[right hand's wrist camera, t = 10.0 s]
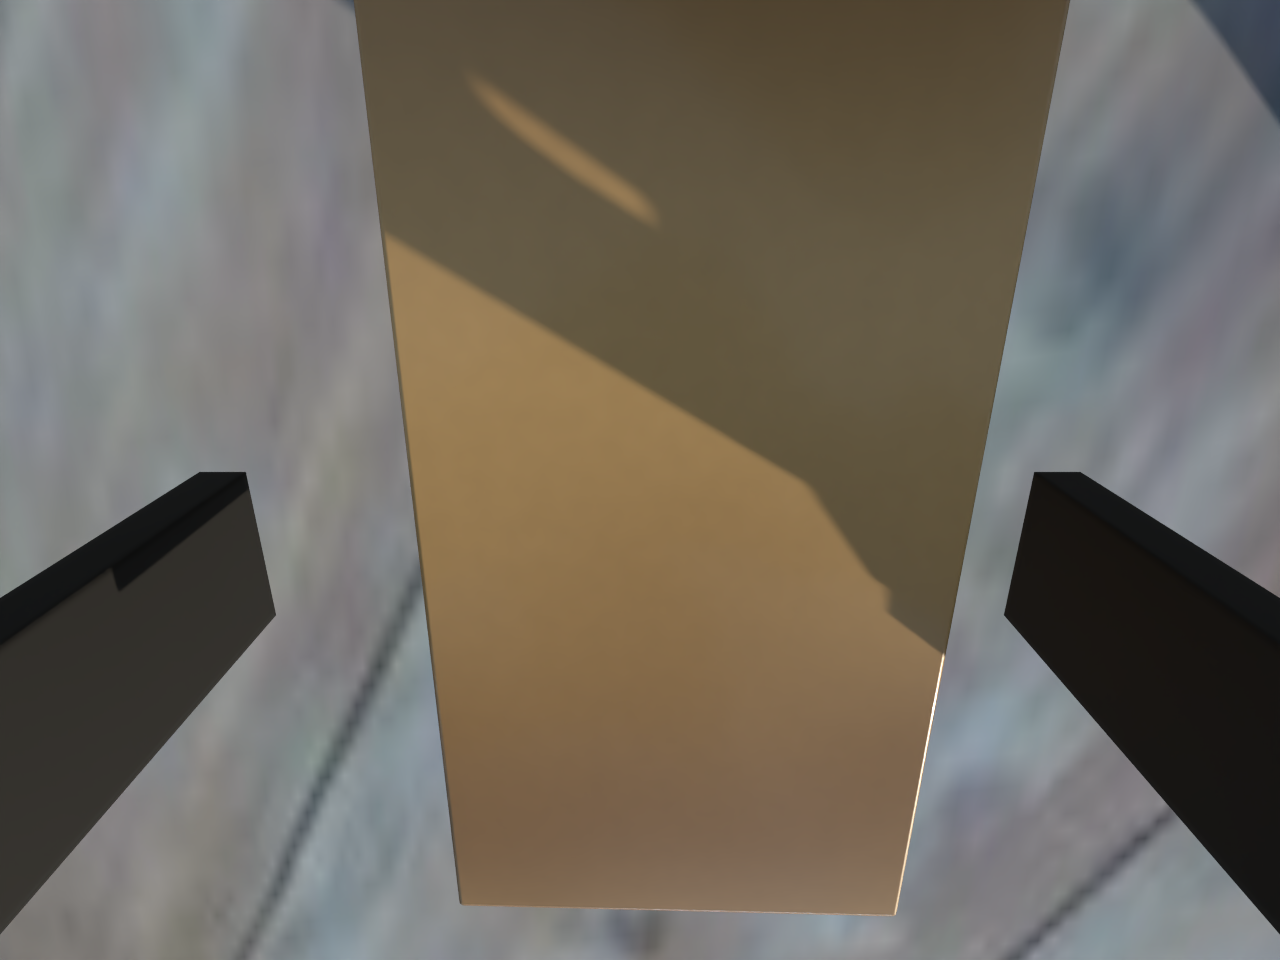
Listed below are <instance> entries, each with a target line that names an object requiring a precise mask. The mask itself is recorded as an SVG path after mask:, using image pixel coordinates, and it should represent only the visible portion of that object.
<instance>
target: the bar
mask: <svg viewBox="0 0 1280 960" xmlns="http://www.w3.org/2000/svg"><path fill="white" fill-rule="evenodd" d="M1069 3H1070V0H354V7H355V16H356V24H357V33H358V41H359V50H360V58H361V67H362V75H363V84H364V92H365V101H366V109H367V118H368V126H369V135H370V143H371V152H372V160H373V169H374V177H375V186H376V194H377V203H378V211H379V220H380V228H381V237H382V245H383V254H384V262H385V271H386V280H387V288H388V297H389V305H390V314H391V322H392V331H393V339H394V348H395V356H396V365H397V373H398V382H399V390H400V399H401V407H402V416H403V424H404V433H405V441H406V450H407V458H408V467H409V475H410V484H411V492H412V501H413V509H414V518H415V526H416V535H417V543H418V552H419V560H420V569H421V577H422V586H423V594H424V603H425V612H426V620H427V629H428V637H429V646H430V654H431V663H432V671H433V680H434V688H435V697H436V705H437V714H438V722H439V731H440V739H441V748H442V756H443V765H444V773H445V782H446V790H447V799H448V807H449V816H450V824H451V833H452V841H453V850H454V858H455V867H456V875H457V884H458V892H459V900H460V904H462V905H469V906H509V907H548V908H588V909H628V910H667V911H707V912H747V913H786V914H826V915H866V916H894V915H895V914H896V912H897V906H898V901H899V896H900V891H901V885H902V880H903V875H904V870H905V864H906V859H907V854H908V849H909V843H910V838H911V833H912V828H913V822H914V817H915V812H916V807H917V801H918V796H919V791H920V786H921V780H922V775H923V770H924V765H925V759H926V754H927V749H928V744H929V738H930V733H931V728H932V723H933V717H934V712H935V707H936V702H937V696H938V691H939V686H940V681H941V675H942V670H943V665H944V660H945V654H946V649H947V644H948V639H949V633H950V628H951V623H952V618H953V612H954V607H955V602H956V596H957V591H958V586H959V581H960V575H961V570H962V565H963V560H964V554H965V549H966V544H967V539H968V533H969V528H970V523H971V518H972V512H973V507H974V502H975V497H976V491H977V486H978V481H979V476H980V470H981V465H982V460H983V455H984V449H985V444H986V439H987V434H988V428H989V423H990V418H991V413H992V407H993V402H994V397H995V392H996V386H997V381H998V376H999V371H1000V365H1001V360H1002V355H1003V350H1004V344H1005V339H1006V334H1007V329H1008V323H1009V318H1010V313H1011V308H1012V302H1013V297H1014V292H1015V287H1016V281H1017V276H1018V271H1019V266H1020V260H1021V255H1022V250H1023V245H1024V239H1025V234H1026V229H1027V224H1028V218H1029V213H1030V208H1031V203H1032V197H1033V192H1034V187H1035V182H1036V176H1037V171H1038V166H1039V161H1040V155H1041V150H1042V145H1043V140H1044V134H1045V129H1046V124H1047V119H1048V113H1049V108H1050V103H1051V98H1052V92H1053V87H1054V82H1055V77H1056V71H1057V66H1058V61H1059V56H1060V50H1061V45H1062V40H1063V35H1064V29H1065V24H1066V19H1067V14H1068V8H1069Z"/></svg>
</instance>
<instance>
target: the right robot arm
mask: <svg viewBox="0 0 1280 960" xmlns="http://www.w3.org/2000/svg"><path fill="white" fill-rule="evenodd" d="M275 616H276V613H275V608H274V603H273V599H272V594H271V589H270V585H269V580H268V575H267V570H266V566H265V561H264V556H263V552H262V547H261V542H260V537H259V533H258V528H257V523H256V519H255V514H254V509H253V504H252V500H251V495H250V490H249V486H248V481H247V476H246V472H199V473H197V474H196V475H194V476H193V477H191V478H189V479H188V480H186V481H185V482H183V483H182V484H180V485H178V486H177V487H175V488H174V489H172V490H170V491H169V492H167V493H166V494H164V495H163V496H161V497H159V498H158V499H156V500H155V501H153V502H151V503H150V504H148V505H147V506H145V507H144V508H142V509H140V510H139V511H137V512H136V513H134V514H133V515H131V516H129V517H128V518H126V519H125V520H123V521H121V522H120V523H118V524H117V525H115V526H114V527H112V528H110V529H109V530H107V531H106V532H104V533H102V534H101V535H99V536H98V537H96V538H95V539H93V540H91V541H90V542H88V543H87V544H85V545H83V546H82V547H80V548H79V549H77V550H76V551H74V552H72V553H71V554H69V555H68V556H66V557H64V558H63V559H61V560H60V561H58V562H57V563H55V564H53V565H52V566H50V567H49V568H47V569H45V570H44V571H42V572H41V573H39V574H38V575H36V576H34V577H33V578H31V579H30V580H28V581H26V582H25V583H23V584H22V585H20V586H19V587H17V588H15V589H14V590H12V591H11V592H9V593H7V594H6V595H4V596H3V597H1V598H0V934H1V933H2V932H3V930H4V929H5V928H6V927H7V926H8V925H9V923H10V922H11V921H12V920H13V919H14V918H15V916H16V915H17V914H18V913H19V912H20V911H21V910H22V908H23V907H24V906H25V905H26V904H27V903H28V901H29V900H30V899H31V898H32V897H33V896H34V895H35V893H36V892H37V891H38V890H39V889H40V888H41V886H42V885H43V884H44V883H45V882H46V881H47V879H48V878H49V877H50V876H51V875H52V874H53V873H54V871H55V870H56V869H57V868H58V867H59V866H60V864H61V863H62V862H63V861H64V860H65V859H66V857H67V856H68V855H69V854H70V853H71V852H72V851H73V849H74V848H75V847H76V846H77V845H78V844H79V842H80V841H81V840H82V839H83V838H84V837H85V835H86V834H87V833H88V832H89V831H90V830H91V829H92V827H93V826H94V825H95V824H96V823H97V822H98V820H99V819H100V818H101V817H102V816H103V815H104V813H105V812H106V811H107V810H108V809H109V808H110V807H111V805H112V804H113V803H114V802H115V801H116V800H117V798H118V797H119V796H120V795H121V794H122V793H123V792H124V790H125V789H126V788H127V787H128V786H129V785H130V783H131V782H132V781H133V780H134V779H135V778H136V776H137V775H138V774H139V773H140V772H141V771H142V770H143V768H144V767H145V766H146V765H147V764H148V763H149V761H150V760H151V759H152V758H153V757H154V756H155V754H156V753H157V752H158V751H159V750H160V749H161V748H162V746H163V745H164V744H165V743H166V742H167V741H168V739H169V738H170V737H171V736H172V735H173V734H174V732H175V731H176V730H177V729H178V728H179V727H180V726H181V724H182V723H183V722H184V721H185V720H186V719H187V717H188V716H189V715H190V714H191V713H192V712H193V710H194V709H195V708H196V707H197V706H198V705H199V704H200V702H201V701H202V700H203V699H204V698H205V697H206V695H207V694H208V693H209V692H210V691H211V690H212V689H213V687H214V686H215V685H216V684H217V683H218V682H219V680H220V679H221V678H222V677H223V676H224V675H225V673H226V672H227V671H228V670H229V669H230V668H231V667H232V665H233V664H234V663H235V662H236V661H237V660H238V658H239V657H240V656H241V655H242V654H243V653H244V651H245V650H246V649H247V648H248V647H249V646H250V645H251V643H252V642H253V641H254V640H255V639H256V638H257V636H258V635H259V634H260V633H261V632H262V631H263V629H264V628H265V627H266V626H267V625H268V624H269V623H270V621H271V620H272V619H273V618H274V617H275ZM1004 616H1005V617H1006V618H1007V619H1008V620H1009V621H1010V623H1011V624H1012V625H1013V626H1014V627H1015V628H1016V629H1017V631H1018V632H1019V633H1020V634H1021V635H1022V636H1023V638H1024V639H1025V640H1026V641H1027V642H1028V643H1029V645H1030V646H1031V647H1032V648H1033V649H1034V650H1035V651H1036V653H1037V654H1038V655H1039V656H1040V657H1041V658H1042V660H1043V661H1044V662H1045V663H1046V664H1047V665H1048V667H1049V668H1050V669H1051V670H1052V671H1053V672H1054V673H1055V675H1056V676H1057V677H1058V678H1059V679H1060V680H1061V682H1062V683H1063V684H1064V685H1065V686H1066V687H1067V689H1068V690H1069V691H1070V692H1071V693H1072V694H1073V695H1074V697H1075V698H1076V699H1077V700H1078V701H1079V702H1080V704H1081V705H1082V706H1083V707H1084V708H1085V709H1086V711H1087V712H1088V713H1089V714H1090V715H1091V716H1092V717H1093V719H1094V720H1095V721H1096V722H1097V723H1098V724H1099V726H1100V727H1101V728H1102V729H1103V730H1104V731H1105V732H1106V734H1107V735H1108V736H1109V737H1110V738H1111V739H1112V741H1113V742H1114V743H1115V744H1116V745H1117V746H1118V748H1119V749H1120V750H1121V751H1122V752H1123V753H1124V754H1125V756H1126V757H1127V758H1128V759H1129V760H1130V761H1131V763H1132V764H1133V765H1134V766H1135V767H1136V768H1137V770H1138V771H1139V772H1140V773H1141V774H1142V775H1143V776H1144V778H1145V779H1146V780H1147V781H1148V782H1149V783H1150V785H1151V786H1152V787H1153V788H1154V789H1155V790H1156V792H1157V793H1158V794H1159V795H1160V796H1161V797H1162V798H1163V800H1164V801H1165V802H1166V803H1167V804H1168V805H1169V807H1170V808H1171V809H1172V810H1173V811H1174V812H1175V813H1176V815H1177V816H1178V817H1179V818H1180V819H1181V820H1182V822H1183V823H1184V824H1185V825H1186V826H1187V827H1188V829H1189V830H1190V831H1191V832H1192V833H1193V834H1194V835H1195V837H1196V838H1197V839H1198V840H1199V841H1200V842H1201V844H1202V845H1203V846H1204V847H1205V848H1206V849H1207V851H1208V852H1209V853H1210V854H1211V855H1212V856H1213V857H1214V859H1215V860H1216V861H1217V862H1218V863H1219V864H1220V866H1221V867H1222V868H1223V869H1224V870H1225V871H1226V873H1227V874H1228V875H1229V876H1230V877H1231V878H1232V879H1233V881H1234V882H1235V883H1236V884H1237V885H1238V886H1239V888H1240V889H1241V890H1242V891H1243V892H1244V893H1245V895H1246V896H1247V897H1248V898H1249V899H1250V900H1251V901H1252V903H1253V904H1254V905H1255V906H1256V907H1257V908H1258V910H1259V911H1260V912H1261V913H1262V914H1263V915H1264V916H1265V918H1266V919H1267V920H1268V921H1269V922H1270V923H1271V925H1272V926H1273V927H1274V928H1275V929H1276V930H1277V932H1278V933H1279V934H1280V598H1279V597H1277V596H1276V595H1274V594H1272V593H1271V592H1269V591H1268V590H1266V589H1265V588H1263V587H1261V586H1260V585H1258V584H1257V583H1255V582H1254V581H1252V580H1250V579H1249V578H1247V577H1246V576H1244V575H1242V574H1241V573H1239V572H1238V571H1236V570H1235V569H1233V568H1231V567H1230V566H1228V565H1227V564H1225V563H1223V562H1222V561H1220V560H1219V559H1217V558H1216V557H1214V556H1212V555H1211V554H1209V553H1208V552H1206V551H1204V550H1203V549H1201V548H1200V547H1198V546H1197V545H1195V544H1193V543H1192V542H1190V541H1189V540H1187V539H1185V538H1184V537H1182V536H1181V535H1179V534H1178V533H1176V532H1174V531H1173V530H1171V529H1170V528H1168V527H1166V526H1165V525H1163V524H1162V523H1160V522H1159V521H1157V520H1155V519H1154V518H1152V517H1151V516H1149V515H1147V514H1146V513H1144V512H1143V511H1141V510H1140V509H1138V508H1136V507H1135V506H1133V505H1132V504H1130V503H1128V502H1127V501H1125V500H1124V499H1122V498H1121V497H1119V496H1117V495H1116V494H1114V493H1113V492H1111V491H1110V490H1108V489H1106V488H1105V487H1103V486H1102V485H1100V484H1098V483H1097V482H1095V481H1094V480H1092V479H1091V478H1089V477H1087V476H1086V475H1084V474H1083V473H1081V472H1034V476H1033V481H1032V486H1031V490H1030V495H1029V500H1028V504H1027V509H1026V514H1025V519H1024V523H1023V528H1022V533H1021V537H1020V542H1019V547H1018V552H1017V556H1016V561H1015V566H1014V570H1013V575H1012V580H1011V585H1010V589H1009V594H1008V599H1007V603H1006V608H1005V613H1004Z"/></svg>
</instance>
